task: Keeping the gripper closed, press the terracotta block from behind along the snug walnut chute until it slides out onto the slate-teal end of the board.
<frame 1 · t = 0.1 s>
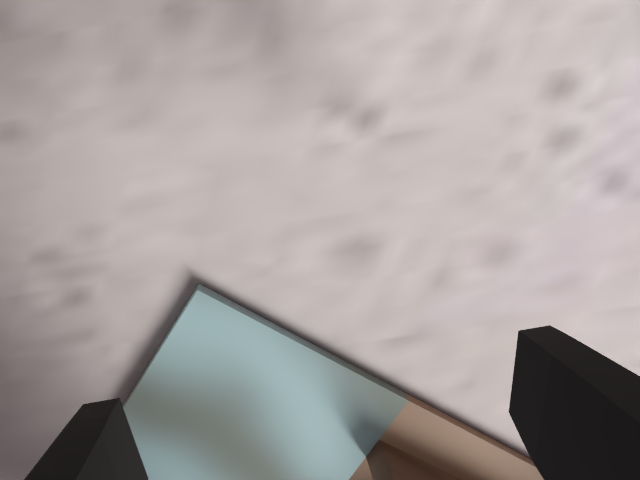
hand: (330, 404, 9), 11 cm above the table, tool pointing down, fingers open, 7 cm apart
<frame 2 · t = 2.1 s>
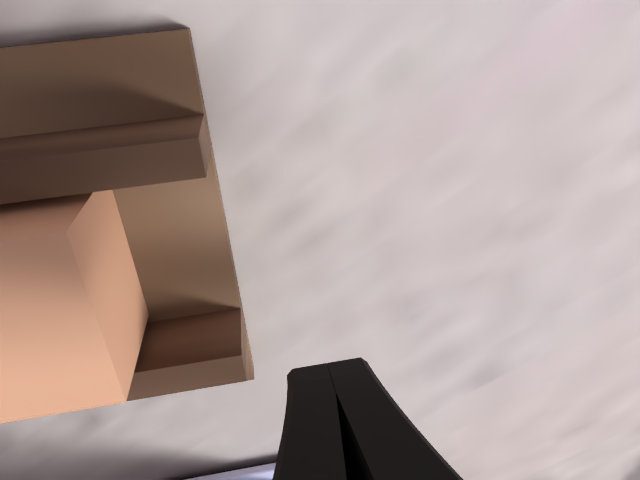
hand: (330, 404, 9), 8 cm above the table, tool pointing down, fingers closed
terracotta block: (28, 262, 15), point 1 cm above the table, touching chute
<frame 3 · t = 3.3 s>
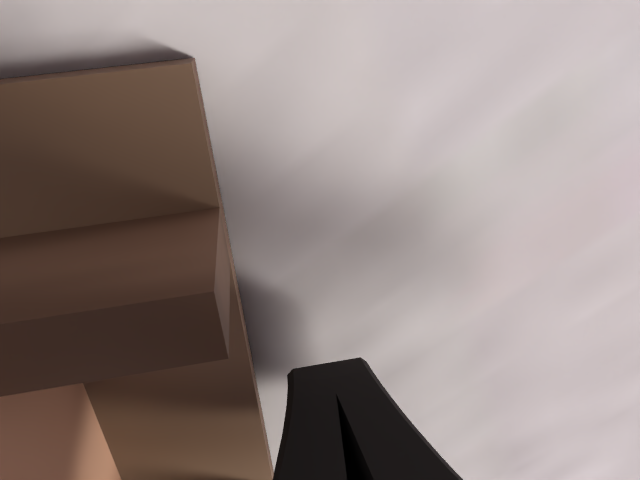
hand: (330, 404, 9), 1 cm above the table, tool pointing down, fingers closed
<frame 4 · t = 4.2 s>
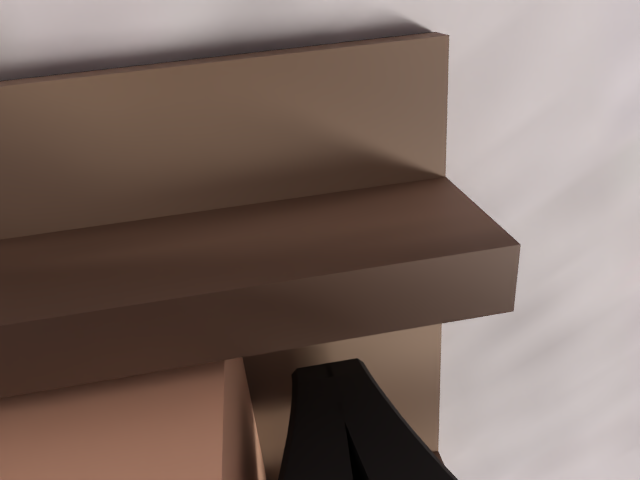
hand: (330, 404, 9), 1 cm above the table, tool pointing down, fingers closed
terracotta block: (89, 415, 10), point 1 cm above the table, touching gripper
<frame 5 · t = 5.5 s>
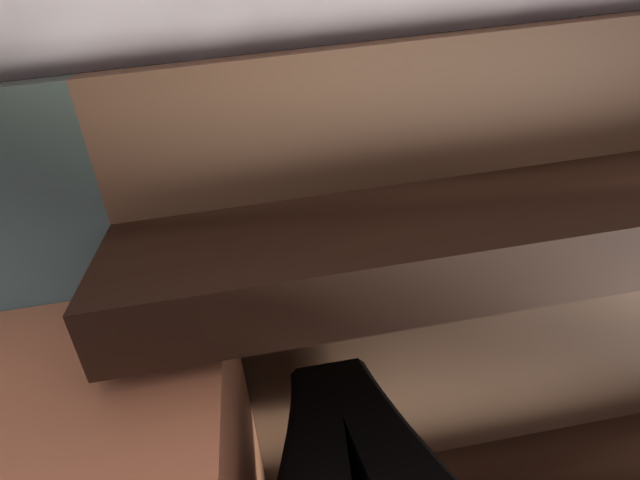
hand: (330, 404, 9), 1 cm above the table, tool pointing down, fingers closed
chute: (169, 381, 10), on the table
terracotta block: (87, 415, 9), point 1 cm above the table, touching gripper
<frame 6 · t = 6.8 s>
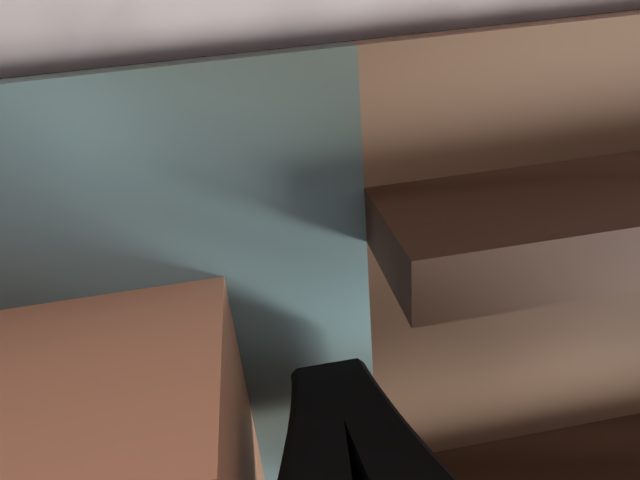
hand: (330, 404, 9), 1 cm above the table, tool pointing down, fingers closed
chute: (365, 347, 11), on the table
terracotta block: (86, 414, 9), point 1 cm above the table, touching chute, gripper
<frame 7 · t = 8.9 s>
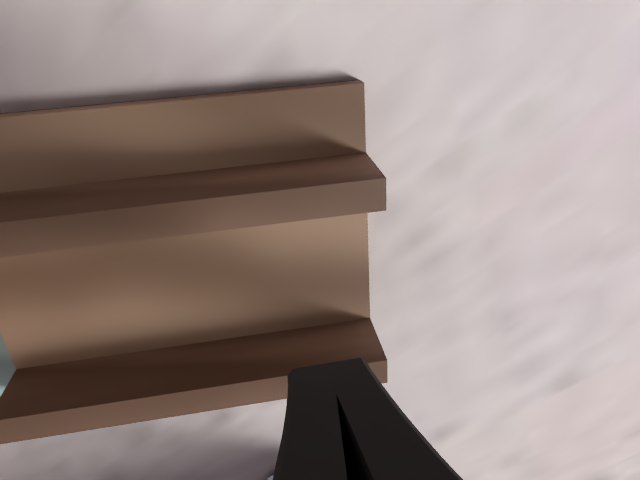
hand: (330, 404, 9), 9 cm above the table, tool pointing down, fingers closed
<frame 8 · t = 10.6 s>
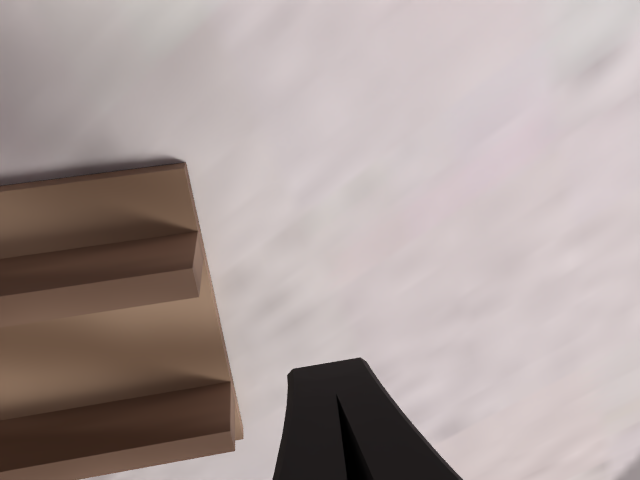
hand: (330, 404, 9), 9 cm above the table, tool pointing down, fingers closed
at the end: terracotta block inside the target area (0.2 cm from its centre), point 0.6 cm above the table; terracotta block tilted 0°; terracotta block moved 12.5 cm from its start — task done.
